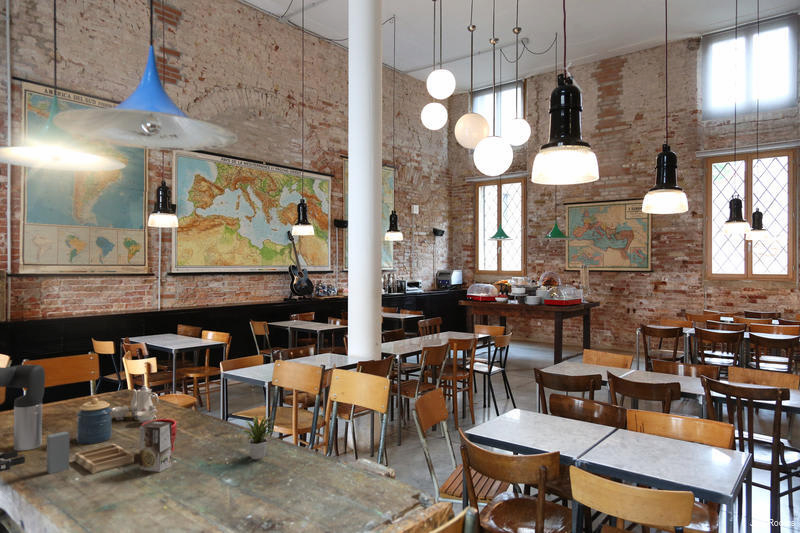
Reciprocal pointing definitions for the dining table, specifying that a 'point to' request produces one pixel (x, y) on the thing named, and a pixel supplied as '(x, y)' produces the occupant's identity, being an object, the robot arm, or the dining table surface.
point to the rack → (104, 458)
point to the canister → (94, 422)
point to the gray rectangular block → (57, 452)
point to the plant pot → (173, 432)
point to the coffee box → (155, 446)
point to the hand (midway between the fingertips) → (20, 456)
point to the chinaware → (138, 406)
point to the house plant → (258, 437)
